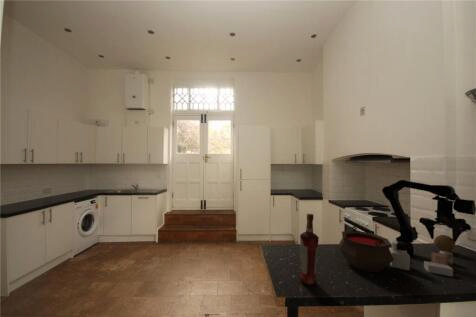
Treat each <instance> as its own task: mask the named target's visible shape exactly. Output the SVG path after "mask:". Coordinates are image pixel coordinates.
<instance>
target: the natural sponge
mask: <svg viewBox="0 0 476 317" xmlns="http://www.w3.org/2000/svg"><path fill="white" fill-rule="evenodd" d="M433 245H434V246H435V247H436V248H438V249H440V251H446V252H449V253H451V252H452V251H453V250H454V248H455V246H456V242H453V237H451V236H449V235H446V234H439V235H437V236H436V237H435V238H434V239H433Z"/></svg>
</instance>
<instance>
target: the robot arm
mask: <svg viewBox="0 0 476 317" xmlns="http://www.w3.org/2000/svg"><path fill="white" fill-rule="evenodd" d="M404 188H408V189H414V190H417V191H424V192H428V193H431V194H433V195H435V196H434V197H432V198H431V200H434V201H436V202H437V204H436V209H434V212H435V213H436V217H435V218H434V219H431V218H429V217H428V218H427V217H420V218H419V219H418V221H419V223H420V224H422V226H424V227H425V228H426V230H427V232H428V236H430V238H431V240H435V238H434V237H435V229H436V227H435V226H436V225H437V226H446V227H447V228H449V229H451V231H452V233H451V234H452V237H451V238H452V239H453V242H455V243H456V242H457V240H458V238H460V236H461V234H463V233H464V232H468V231H471V230H472V226H471V225H470V224H469V223H467V220H466V219H465V218H456V214H455V213H453V212H454V211H455V212H456V213H460V214H466V215H472V216H475V215H476V203H475V202H476V201H475V200H473V199H464V198H463V199H462V198H461V197H460V196H458V194H457V193H456V191H455V190H456V189H455V188H454V187H453V186H451V185H447V184H428V183H423V182H416V181H410V180H406V179H400V180H398V181H396V182H394V183H392V184H390V185H388V186H387V185H386V186H384V187H382V190H381V191H382V194H383V196H384V197H385V199H387V201H389V203H390V205H391V208H392V210H393V212H394V214H395V218H396V220H397V221H398V224H399V236H398V237H395V240H397V241H402V242H404V243H406V244H407V253H408V254H409V256H410V257H411V256H412V257H413V256H414V246H413V242H415V241H416V240H418V238H419V236H418V235H419V232H418V231H417V228H416V226H412V225H411V224H410V223H409V220H408V217H407V215H406V214H405V211H404V209H403V207H402V204H401V202H400V195H399V194H400V193H399V192H400V191H402V190H403V189H404ZM453 210H454V211H453Z"/></svg>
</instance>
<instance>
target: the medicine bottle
mask: <svg viewBox="0 0 476 317" xmlns="http://www.w3.org/2000/svg"><path fill="white" fill-rule="evenodd" d="M388 248H389V250H390V252H391V254H392V257H393V259H394V260H393V261H392V262H391V263H390V264H389V266H391V267H392V268H396V269H399V270H406V271H410V266H411V264H410V262H411V256H410V255H409V254H408V253H407V244H406V243H404V242H402V241H397V240H396V239H395V240H392V241H391V247H388Z"/></svg>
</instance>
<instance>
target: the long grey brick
mask: <svg viewBox="0 0 476 317" xmlns="http://www.w3.org/2000/svg"><path fill="white" fill-rule="evenodd" d="M423 268H424V269H425V271H426V272H428V273H432V274H435V275H436V274H437V275H442V276H448V277H454V269H453V268H452V267H451V266H449V264H447V265H444V264H438V263H432V262H431V261H425V260H424V261H423Z"/></svg>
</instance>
